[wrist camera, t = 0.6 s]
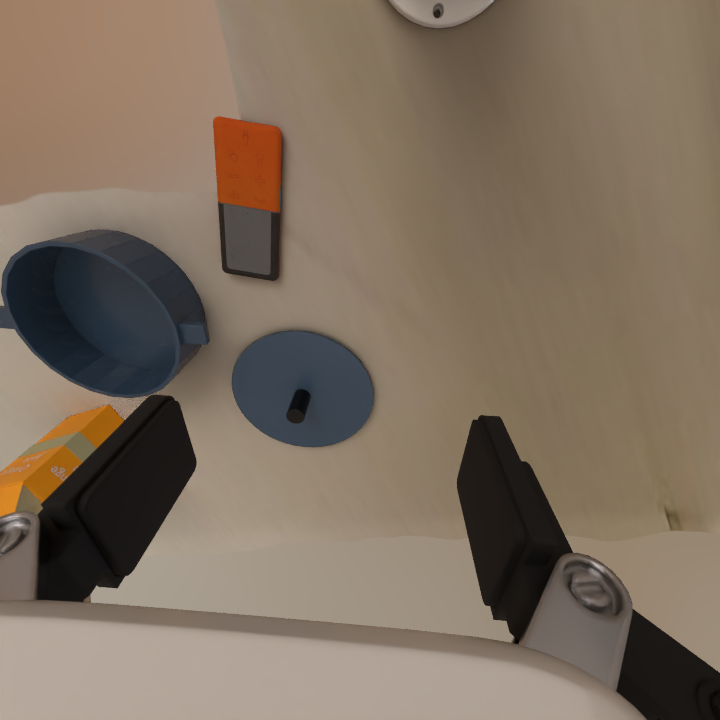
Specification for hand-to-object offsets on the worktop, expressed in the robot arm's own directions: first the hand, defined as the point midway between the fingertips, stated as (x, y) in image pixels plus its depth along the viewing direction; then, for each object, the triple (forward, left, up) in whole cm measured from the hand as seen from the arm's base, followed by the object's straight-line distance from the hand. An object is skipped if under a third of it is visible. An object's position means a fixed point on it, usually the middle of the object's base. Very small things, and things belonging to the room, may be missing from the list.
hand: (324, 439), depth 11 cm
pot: (+10, -30, -31) cm, 44 cm away
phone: (-3, -13, -31) cm, 33 cm away
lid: (+21, -8, -30) cm, 38 cm away
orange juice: (+32, -41, -31) cm, 60 cm away
